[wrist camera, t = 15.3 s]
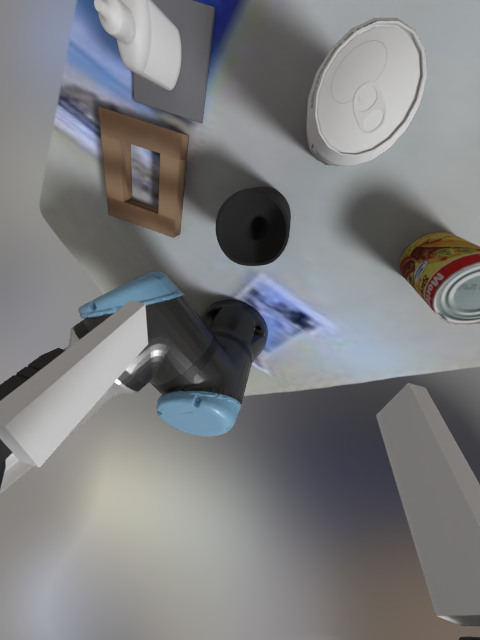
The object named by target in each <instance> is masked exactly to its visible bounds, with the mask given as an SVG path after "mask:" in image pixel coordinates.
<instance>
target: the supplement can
mask: <svg viewBox="0 0 480 640" xmlns="http://www.w3.org/2000/svg"><path fill="white" fill-rule="evenodd" d="M426 78H427V75H426V53H425V49H424V47H423V45H422V43H421V41H420V39H419V37H418V34H417V32H416V30H415V29H413V28H412V27H410V26H409V25H407V24H406V23H404V22H403V21H401V20H399V19H398V18H374V19H372V20H369V21H367V22H365V23H363V24H361V25H359V26H357V27H355V28H353V29H351V30H350V31H349V32H348V33H347V34H346V35H345V36H344V37H343V38H342V39H340V40H339V41H338V42H337V43H336V44H335V45H334V46H333V47H332V48H331V49H330V51H329V53H328V54H327V56H326V58H325V59H324V61H323V63H322V64H321V66H320V67H319V69H318V71H317V72H316V75H315V78H314V81H313V84H312V88H311V91H310V94H309V97H308V108H307V141H308V145H309V149H310V151H311V152H312V154H313V155H314V157H315V158H316V159H317V160H318V161H320V162H322V163H324V164H325V165H335V166H353V165H356V164H360V163H363V162H367V161H370V160H372V159H373V158H375V157H376V156H378V155H379V154H381V153H382V152H384V151H385V150H387V149H388V148H390V147H391V146H392V144H393V143H394V142H395V141H396V140H397V139H398V138H399V137H400V136H401V134H402V133H403V132H404V131H405V130H406V129H407V127H408V125H409V123H410V121H411V120H412V118H413V116H414V114H415V112H416V110H417V109H418V107H419V105H420V101H421V97H422V93H423V89H424V86H425V82H426Z"/></svg>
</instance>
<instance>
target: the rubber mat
mask: <svg viewBox="0 0 480 640" xmlns="http://www.w3.org/2000/svg"><path fill="white" fill-rule="evenodd" d="M151 1H152V2H153V3H154V4H155V5H156V6H157V7H158V8H159V9H160V10H161V11H162V12H163V13H164V14H165V15H166V17H167V18H168V19H169V20H170V21H171V22H172V23H173V24H174V25H175V26H176V27H177V28H178V31H179V33H180V39H181V67H180V72H179V76H178V79H177V82H176V85H175V87H174V88H173V89H172V90H171V91H169V90H166V89H164V88H162V87H160V86H158V85H156V84H154V83H152V82H150V81H149V80H147V79H145V78H143V77H141V76H139V75H138V74H136V73H134V72H133V78H134V101H135V102H138V103H141V104H144V105H147V106H150V107H153V108H156V109H159V110H163V111H166V112H169V113H172V114H175V115H178V116H181V117H184V118H187V119H190V120H193V121H196V122H199V123H203V114H204V105H205V97H206V88H207V80H208V71H209V62H210V54H211V45H212V36H213V28H214V19H215V8H214V7H213V6H210V5H206V4H203V3H200V2H196V1H193V0H151Z"/></svg>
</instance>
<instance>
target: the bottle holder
mask: <svg viewBox="0 0 480 640" xmlns="http://www.w3.org/2000/svg"><path fill="white" fill-rule="evenodd" d="M98 110H99V120H100V130H101V140H102V151H103V161H104V171H105V182H106V192H107V202H108V213H109V215H111V216H114V217H116V218H119V219H122V220H125V221H128V222H131V223H133V224H136V225H139V226H142V227H145V228H148V229H151V230H153V231H156V232H159V233H162V234H165V235H168V236H171V237H173V238H174V237H176V236H178V235H179V234H180V230H181V219H182V208H183V197H184V186H185V174H186V163H187V152H188V141H189V136H188V135H185V134H182V133H179V132H176V131H173V130H170V129H167V128H164V127H161V126H158V125H155V124H152V123H149V122H146V121H143V120H140V119H137V118H134V117H131V116H128V115H125V114H122V113H119V112H115V111H112V110H109V109H106V108H102V107H99V106H98ZM130 144H133V145H136V146H139V147H142V148H145V149H148V150H151V151H154V152H157V153H160V175H159V208H158V209H157V208H154V207H151V206H148V205H145V204H142V203H139V202H136V201H134V200H132V174H131V145H130Z"/></svg>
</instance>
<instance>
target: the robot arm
mask: <svg viewBox="0 0 480 640" xmlns="http://www.w3.org/2000/svg"><path fill="white" fill-rule="evenodd" d="M79 313H80V316H81V317H82V318H85V319H84V320H83V321H81V322H80V323H79V324H77V325H75V326H74V327H73V328H72V329H71V334H70V343H69V345H68V347H66V348H65V349H64V350H63V349H60V348H57V349H55V350H53V351H50V352H48V353H46V354H44V355H41V356H40V357H39V358H37V359H36V360H34V361H33V362H32V363H30V364H29V365H28V367H25V368H23V369H22V370H20V371H19V372H18V373H17V374H16V375H15V376H14V375H13V376H12V377H11V378H9V379H8V380H7V381H5V382H4V383H2V384H1V385H0V494H1V493H2V492H3V491H4V490H5V489H7V488H8V487H9V486H10V485H11V484H12V483H14V482H15V481H16V480H17V479H18V478H20V477H21V476H22V475H23V474H24V473H25V472H27V471H28V470H29V469H30V468H31V467H33V466H36V467H38V468H40V466H41V465H42V464H43V463H44V462H45V461H46V460H47V458H48V457H49V456H50V455H51V454H52V453H53V452H54V451H55V449H56V448H57V447H58V446H59V445H60V444H61V443H62V441H63V440H64V439H65V438H67V437H68V436H69V435H70V434H71V433H73V432H74V431H75V430H76V429H77V428H78V427H79V426H81V425H82V424H83V423H84V422H85V421H87V420H88V419H89V418H90V417H91V416H92V415H94V414H95V413H96V412H97V411H98V410H100V409H101V408H102V407H103V406H104V405H105V404H106V403H108V402H109V401H110V400H111V399H112V398H114V397H115V396H116V395H117V394H127V393H129V394H130V393H137V392H138V391H139V390H141V389H142V388H143V387H144V386H145V385H146V384H147V383H149V382H150V383H151V384H152V385H153V386H154V387H155V388H156V389H157V390H158V391H159V392H160V393H161V394H162V396H160V398H159V399H158V404H157V412H158V415H159V416H160V417H161V419H162V420H163V421H165V422H166V423H167V424H169V425H171V426H172V427H174V428H176V429H178V430H181V431H183V432H186V433H190V434H194V435H199V436H217V435H221V434H224V433H226V432H228V431H229V430H230V429H231V428H232V426H233V425H234V423H235V420H236V417H237V414H238V412H239V410H240V409H241V403H242V399H243V396H244V392H245V388H246V384H247V380H248V376H249V372H250V368H251V364H252V363H253V361H254V360H255V359H256V358H257V357H258V355H259V354H260V353H261V352H262V350H263V349H264V347H265V344H266V340H267V336H268V330H267V325H266V323H265V321H264V319H263V317H262V316H261V315H260V314H259V313H258V312H257V311H256V310H255V309H254V308H252V307H251V306H249V305H247V304H245V303H242V302H239V301H234V300H224V301H219V302H217V303H214V304H213V305H211V306H210V307H209V308H208V309H207V310H206V312H205V313H204V314H203V316H202V318H200V316H199V315H198V314H197V312H196V311H195V310H194V308H193V307H192V306H191V304H190V303H189V302H188V300H187V299H186V298H185V296H184V293H183V291H180V290H179V289H178V287H177V286H176V285H175V284H174V283H173V282H172V280H171V279H170V278H169V277H168V276H167V275H166V274H165V273H163V272H159V271H153V272H150V273H147V274H145V275H143V276H141V277H139V278H136V279H134V280H132V281H130V282H128V283H126V284H124V285H122V286H120V287H118V288H116V289H114V290H112V291H110V292H108V293H106V294H104V295H102V296H100V297H98V298H96V299H94V300H93V301H91V302H89V303H87V304H85V305H83V306H81V307H80V308H79ZM376 417H377V420H378V423H379V426H380V430H381V433H382V436H383V440H384V443H385V446H386V450H387V453H388V457H389V460H390V463H391V467H392V470H393V473H394V477H395V480H396V484H397V486H398V490H399V494H400V497H401V500H402V503H403V507H404V510H405V514H406V517H407V520H408V523H409V527H410V530H411V534H412V537H413V540H414V544H415V547H416V550H417V554H418V557H419V560H420V564H421V567H422V571H423V574H424V577H425V581H426V584H427V587H428V591H429V594H430V597H431V601H432V604H433V607H434V611H435V614H436V616H438V617H440V618H443V619H446V620H448V621H451V622H454V623H456V624H459V625H462V626H480V484H479V483H478V481H477V479H476V478H475V476H474V474H473V472H472V470H471V468H470V467H469V465H468V463H467V461H466V460H465V458H464V456H463V454H462V452H461V451H460V449H459V447H458V445H457V443H456V442H455V440H454V438H453V436H452V435H451V433H450V431H449V429H448V427H447V426H446V424H445V422H444V420H443V418H442V417H441V415H440V413H439V411H438V410H437V408H436V406H435V404H434V402H433V401H432V399H431V397H430V396H429V393H428V392H427V390H426V388H424V387H421V386H417V385H414V384H410V383H408V384H407V385H406V386H405V387H404V388H403V389H402V390H401V391H400V392H399V393H398V394H397V395H396V396H395V397H394V398H393V399H392V400H391V401H390V402H389V403H388V404H387V405H386V406H385V407H384V408H383V409H382V410H381V411H380V412H379V413H378V414H377V415H376ZM459 640H480V637H460V638H459Z"/></svg>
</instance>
